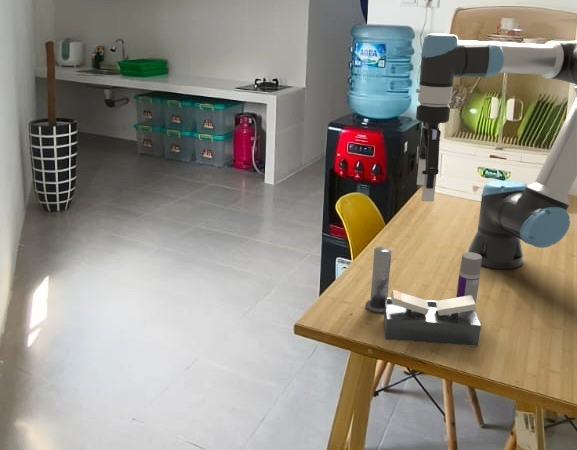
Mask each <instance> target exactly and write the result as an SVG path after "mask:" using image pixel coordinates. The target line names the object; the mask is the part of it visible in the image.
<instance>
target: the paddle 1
mask: <svg viewBox="0 0 577 450" xmlns="http://www.w3.org/2000/svg"><path fill="white" fill-rule="evenodd" d="M390 298H391V300H392V304H393V305H396V306H400V307H403V308H406V309H409V310H413V311H416V312H419V313H422V314H425V315H427V313H428V311H429V307H428V303H427V300H426V299H423V298H420V297H417V296H414V295H410V294H407V293H404V292H401V291H399V290H396V289H393V290H392V291H391V294H390Z"/></svg>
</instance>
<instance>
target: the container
mask: <svg viewBox="0 0 577 450" xmlns="http://www.w3.org/2000/svg"><path fill="white" fill-rule="evenodd" d="M481 262H482V256H481V255H479V254H477V253H472V252H468V251H467V252H464V253H463V252H462V254H461V261H460V265H459V267H460V268H459V273H458V274H459V275H458V281H457V288H456V295H455V298H457V297H463V296H469V295H472V297H473V300H474V302H475V306H476V305H477V299H478V292H479V291H478V290H479V285H480V278H481V268H482V265H481Z"/></svg>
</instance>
